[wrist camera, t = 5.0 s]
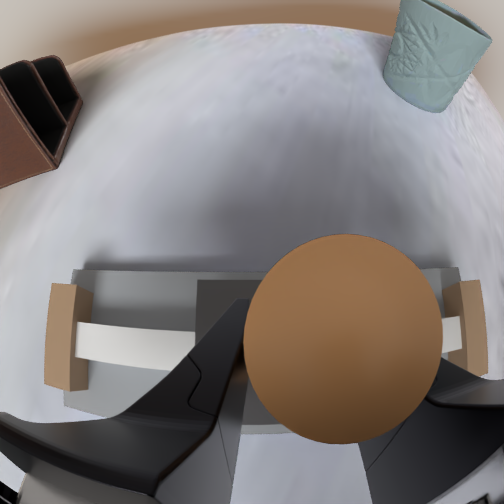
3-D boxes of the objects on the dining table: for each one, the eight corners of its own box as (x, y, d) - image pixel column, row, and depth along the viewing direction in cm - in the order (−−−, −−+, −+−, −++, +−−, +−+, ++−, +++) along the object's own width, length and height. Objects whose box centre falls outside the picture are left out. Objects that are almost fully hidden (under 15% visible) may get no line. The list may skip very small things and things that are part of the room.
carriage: (203, 413, 11) (89, 520, 2) (204, 290, 14) (114, 143, 4) (351, 408, 11) (515, 463, 2) (346, 289, 14) (482, 162, 4)
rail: (72, 404, 14) (45, 408, 11) (80, 273, 17) (56, 259, 14) (460, 394, 13) (487, 395, 11) (450, 271, 17) (475, 257, 14)
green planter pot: (361, 74, 25) (387, -15, 14) (398, 59, 27) (421, -10, 16) (437, 129, 22) (487, 43, 11) (459, 103, 25) (496, 37, 13)
